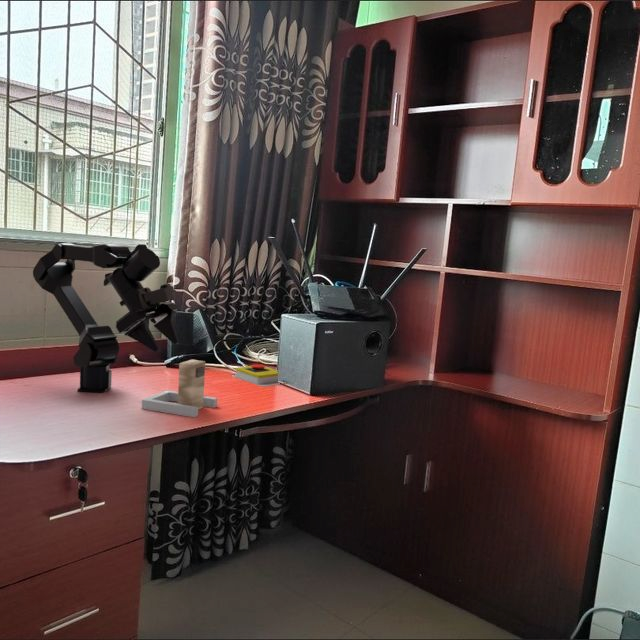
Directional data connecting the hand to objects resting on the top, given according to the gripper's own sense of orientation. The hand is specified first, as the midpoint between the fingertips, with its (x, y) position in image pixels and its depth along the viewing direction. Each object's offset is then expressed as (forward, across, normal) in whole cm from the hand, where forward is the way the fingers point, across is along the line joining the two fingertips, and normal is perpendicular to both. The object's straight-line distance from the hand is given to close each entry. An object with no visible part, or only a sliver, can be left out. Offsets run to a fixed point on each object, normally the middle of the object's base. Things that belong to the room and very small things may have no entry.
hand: (167, 347), depth 144 cm
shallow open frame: (+13, -2, +4) cm, 14 cm away
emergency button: (+19, +34, +1) cm, 39 cm away
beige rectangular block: (+15, -3, +2) cm, 15 cm away
